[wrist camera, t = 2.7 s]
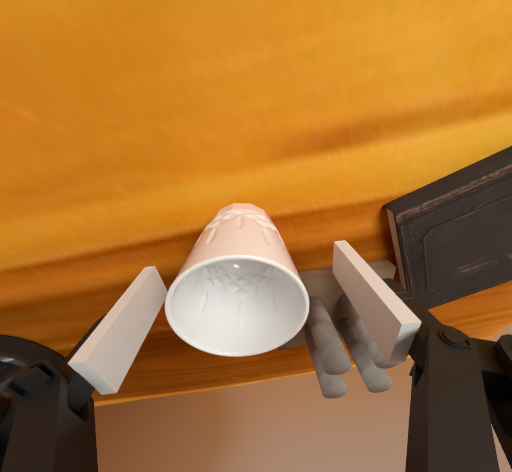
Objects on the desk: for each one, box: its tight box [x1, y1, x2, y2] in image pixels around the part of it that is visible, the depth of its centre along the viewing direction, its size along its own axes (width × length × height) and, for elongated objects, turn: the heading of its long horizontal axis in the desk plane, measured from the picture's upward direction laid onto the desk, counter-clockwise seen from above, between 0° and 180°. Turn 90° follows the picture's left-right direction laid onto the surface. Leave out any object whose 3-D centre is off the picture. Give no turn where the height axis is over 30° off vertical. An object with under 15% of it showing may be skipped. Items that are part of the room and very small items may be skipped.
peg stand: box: [278, 259, 401, 398], centre depth 21 cm, size 14×12×8 cm
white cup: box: [165, 203, 309, 357], centre depth 15 cm, size 8×8×10 cm
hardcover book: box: [383, 146, 512, 310], centre depth 19 cm, size 16×23×2 cm
